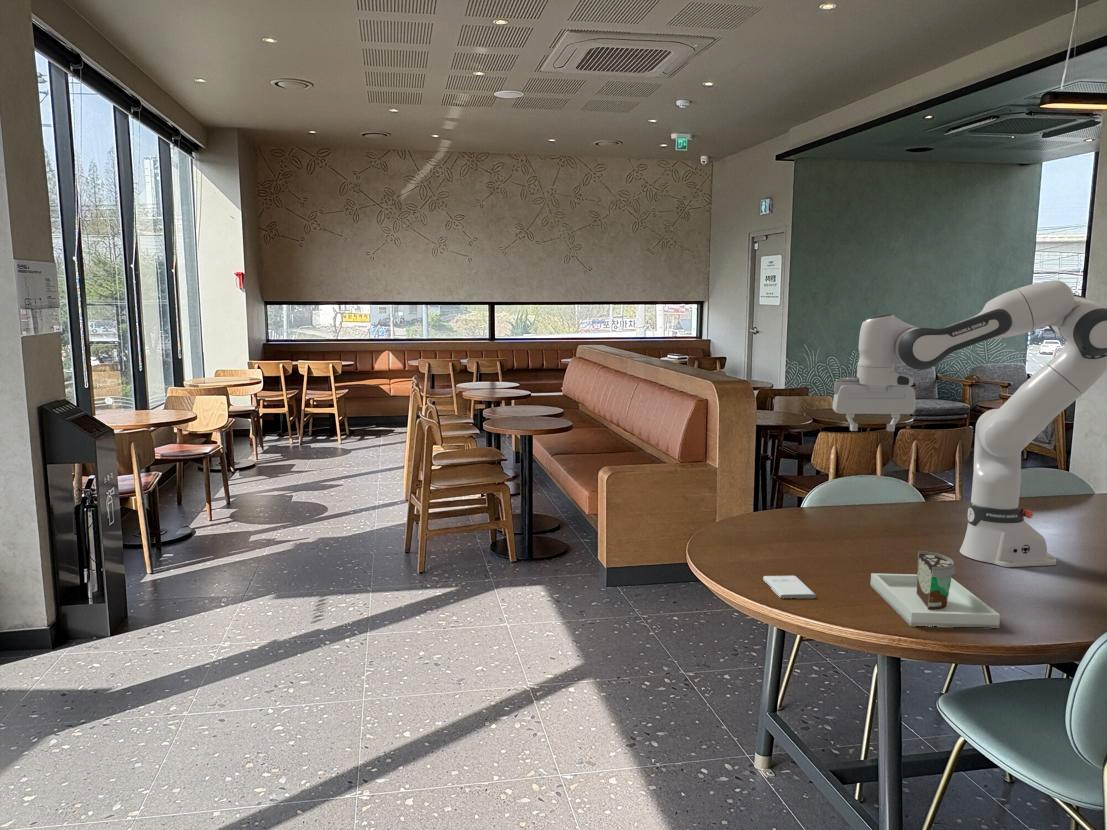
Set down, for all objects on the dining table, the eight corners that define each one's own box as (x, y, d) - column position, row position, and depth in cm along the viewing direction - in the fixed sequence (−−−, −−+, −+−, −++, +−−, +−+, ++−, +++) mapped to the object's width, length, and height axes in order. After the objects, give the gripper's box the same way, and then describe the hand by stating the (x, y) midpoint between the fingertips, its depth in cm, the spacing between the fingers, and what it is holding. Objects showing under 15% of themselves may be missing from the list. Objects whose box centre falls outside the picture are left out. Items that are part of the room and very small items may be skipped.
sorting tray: (947, 587, 189) (948, 575, 189) (998, 628, 166) (1000, 614, 165) (870, 585, 190) (871, 573, 190) (910, 626, 166) (911, 612, 166)
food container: (960, 614, 171) (964, 569, 169) (929, 612, 172) (933, 567, 170) (943, 593, 183) (946, 551, 181) (914, 591, 184) (917, 549, 182)
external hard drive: (780, 601, 181) (762, 581, 193) (815, 600, 182) (795, 581, 194) (780, 594, 181) (763, 575, 193) (815, 593, 181) (796, 574, 194)
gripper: (838, 378, 202) (835, 432, 204) (919, 379, 202) (916, 433, 204) (830, 376, 209) (827, 428, 211) (909, 376, 208) (906, 429, 210)
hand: (872, 430), depth 207 cm, fingers open, 8 cm apart
